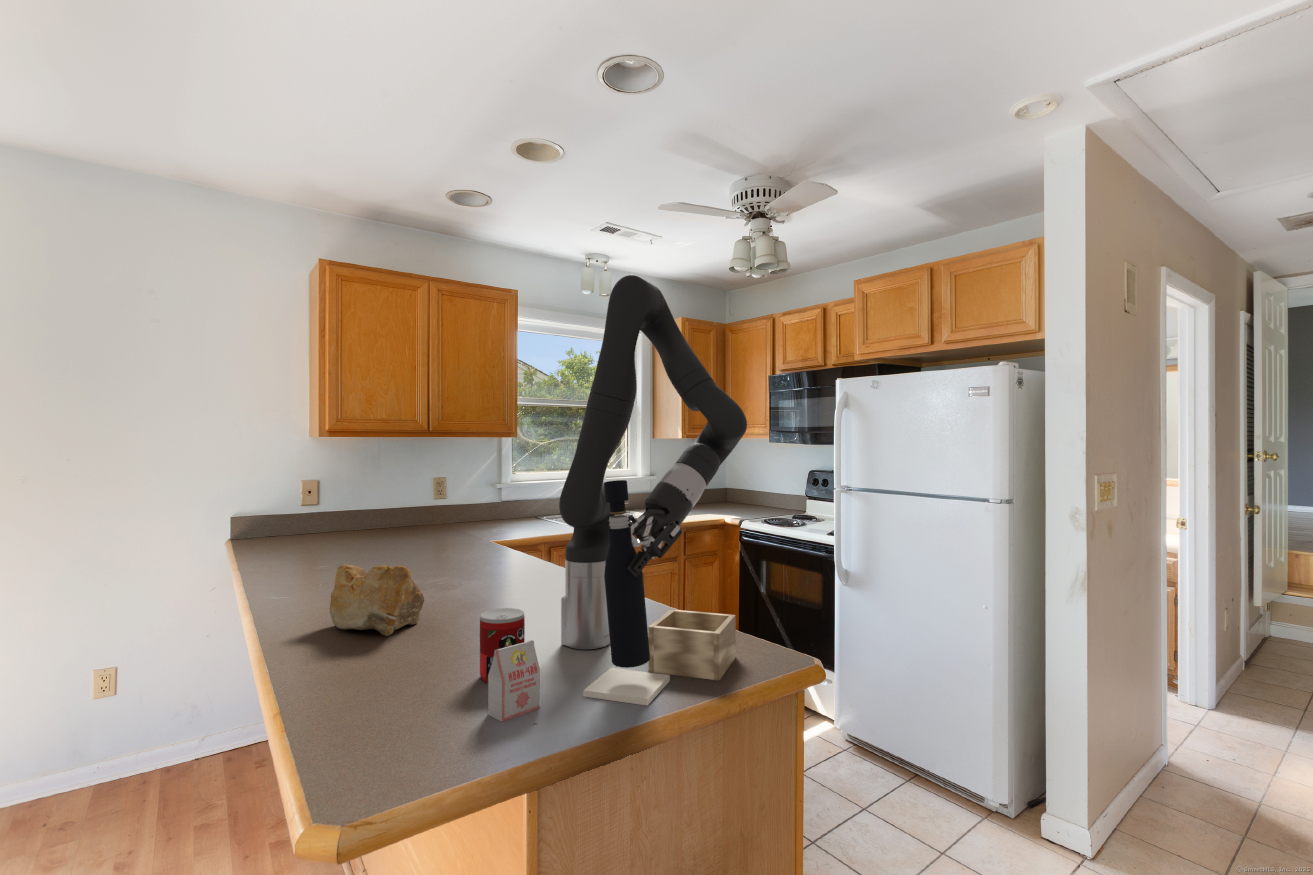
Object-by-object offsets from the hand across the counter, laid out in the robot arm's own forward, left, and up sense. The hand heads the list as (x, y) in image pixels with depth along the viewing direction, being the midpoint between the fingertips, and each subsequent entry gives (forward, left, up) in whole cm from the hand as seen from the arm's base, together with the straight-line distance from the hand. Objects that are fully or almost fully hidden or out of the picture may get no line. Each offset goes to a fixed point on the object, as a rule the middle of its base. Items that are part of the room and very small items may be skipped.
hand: (620, 569), depth 104 cm
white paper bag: (-12, -13, -20) cm, 27 cm away
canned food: (-22, -1, -20) cm, 30 cm away
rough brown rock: (-64, +17, -20) cm, 69 cm away
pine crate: (+8, +16, -20) cm, 27 cm away
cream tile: (+1, +1, -20) cm, 20 cm away
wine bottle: (+1, +2, -15) cm, 16 cm away
